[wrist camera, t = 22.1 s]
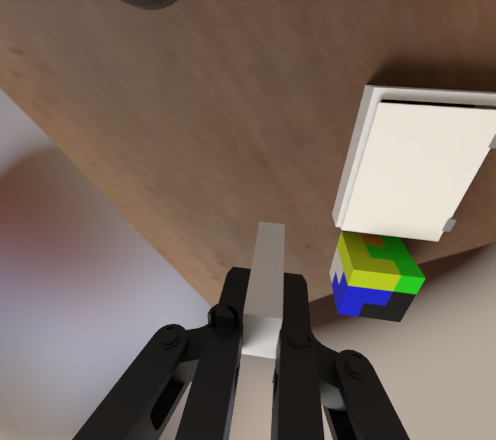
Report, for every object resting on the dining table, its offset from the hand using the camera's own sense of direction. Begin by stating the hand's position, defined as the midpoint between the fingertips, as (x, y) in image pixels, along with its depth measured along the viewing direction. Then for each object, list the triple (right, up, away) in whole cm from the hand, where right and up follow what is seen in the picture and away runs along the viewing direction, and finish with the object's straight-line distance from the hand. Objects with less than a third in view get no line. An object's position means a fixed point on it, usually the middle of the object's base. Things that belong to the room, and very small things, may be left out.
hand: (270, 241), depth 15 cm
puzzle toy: (+20, -5, +32) cm, 38 cm away
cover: (+21, +7, +18) cm, 29 cm away
